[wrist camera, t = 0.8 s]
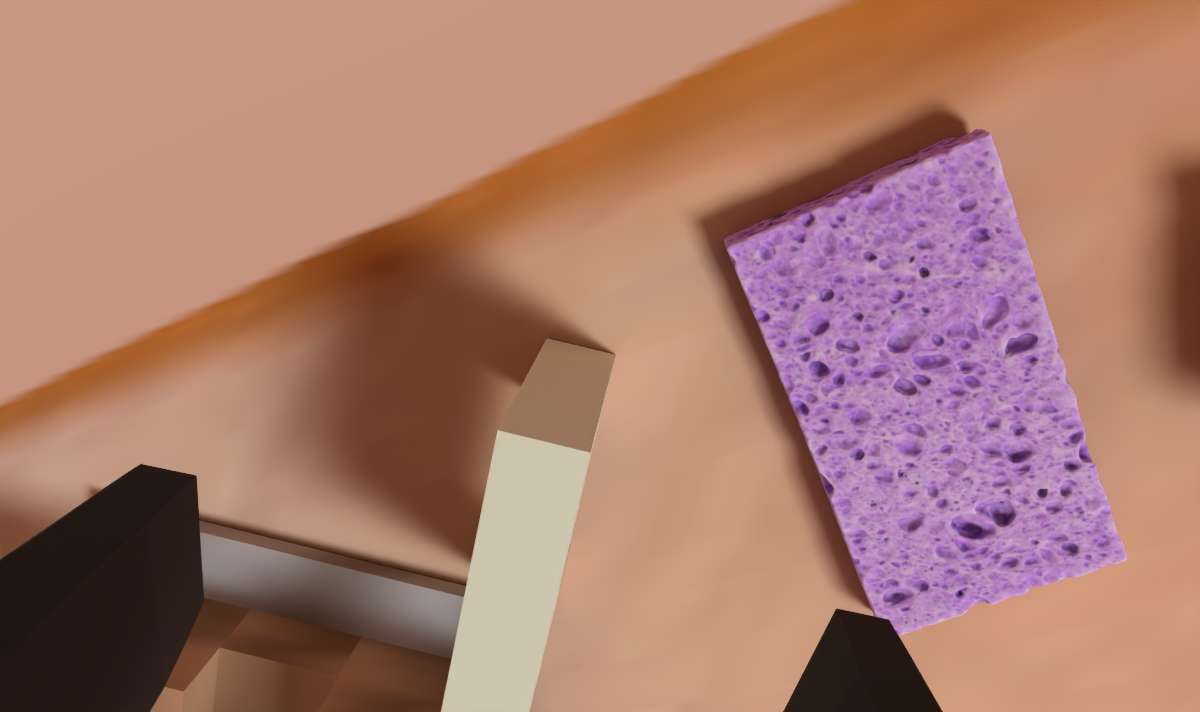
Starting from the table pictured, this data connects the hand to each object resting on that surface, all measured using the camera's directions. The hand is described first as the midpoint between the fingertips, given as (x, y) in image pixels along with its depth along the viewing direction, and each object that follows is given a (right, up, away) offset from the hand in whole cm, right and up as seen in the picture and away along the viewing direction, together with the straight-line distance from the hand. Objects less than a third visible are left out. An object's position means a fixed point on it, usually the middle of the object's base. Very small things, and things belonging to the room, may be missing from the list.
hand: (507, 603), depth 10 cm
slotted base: (-8, -7, +19) cm, 22 cm away
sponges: (+10, +2, +15) cm, 19 cm away
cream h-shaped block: (0, -1, +16) cm, 16 cm away
